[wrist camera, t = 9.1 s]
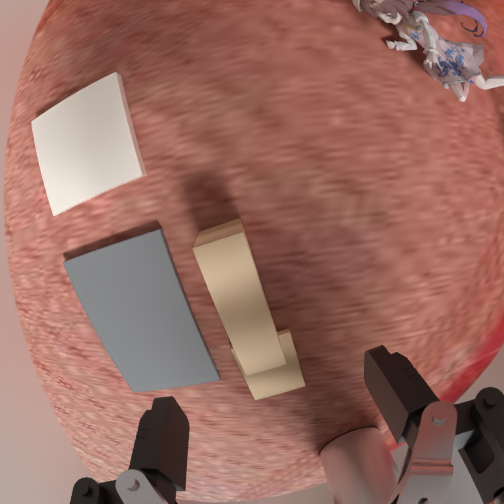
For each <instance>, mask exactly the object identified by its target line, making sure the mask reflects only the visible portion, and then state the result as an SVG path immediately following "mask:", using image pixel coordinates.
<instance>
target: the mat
mask: <svg viewBox="0 0 504 504" xmlns="http://www.w3.org/2000/svg"><path fill="white" fill-rule="evenodd" d="M63 264H64V266H65V269H66V271H67V274H68V276H69V278H70V280H71V283H72V285H73V287H74V289H75V292H76V294H77V296H78V298H79V300H80V302H81V304H82V306H83V308H84V310H85V312H86V314H87V316H88V318H89V320H90V322H91V324H92V326H93V328H94V329H95V331H96V333H97V335H98V337H99V338H100V340H101V342H102V344H103V345H104V347H105V349H106V350H107V352H108V354H109V355H110V357H111V359H112V360H113V362H114V364H115V365H116V367H117V368H118V370H119V371H120V373H121V374H122V376H123V377H124V379H125V380H126V382H127V383H128V385H129V386H130V388H131V389H132V391H133V392H143V391H153V390H161V389H169V388H176V387H183V386H190V385H196V384H202V383H208V382H213V381H219V380H220V374H219V372H218V370H217V368H216V365H215V363H214V361H213V359H212V357H211V354H210V352H209V350H208V348H207V345H206V343H205V341H204V338H203V336H202V334H201V331H200V329H199V327H198V324H197V322H196V319H195V317H194V314H193V312H192V309H191V307H190V304H189V302H188V299H187V297H186V294H185V292H184V289H183V286H182V284H181V281H180V278H179V276H178V273H177V270H176V268H175V265H174V262H173V259H172V257H171V254H170V251H169V248H168V245H167V242H166V239H165V236H164V233H163V230H162V228H160V229H156V230H153V231H150V232H147V233H144V234H141V235H137V236H134V237H131V238H128V239H125V240H122V241H119V242H116V243H113V244H110V245H107V246H104V247H102V248H99V249H96V250H93V251H90V252H87V253H85V254H82V255H79V256H76V257H73V258H71V259H68V260H66V261H64V262H63Z"/></svg>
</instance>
